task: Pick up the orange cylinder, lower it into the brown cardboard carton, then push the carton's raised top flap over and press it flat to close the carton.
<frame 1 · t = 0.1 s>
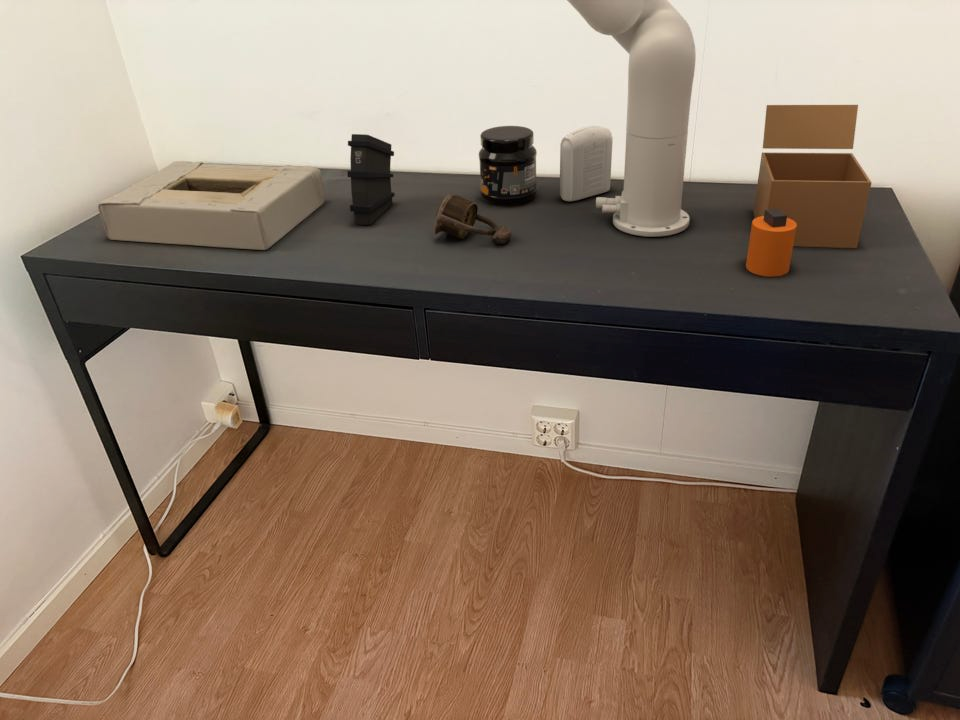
white rounded upright block: (585, 195, 143), on the table
flap: (809, 126, 124), point 14 cm above the table, hinge at 110.0°
supplement container: (509, 198, 144), on the table
brown knobbed piece: (471, 240, 128), on the table
box: (221, 221, 142), on the table
black banded case: (377, 213, 141), on the table
orange cylinder: (767, 267, 114), on the table
carton: (802, 229, 125), on the table
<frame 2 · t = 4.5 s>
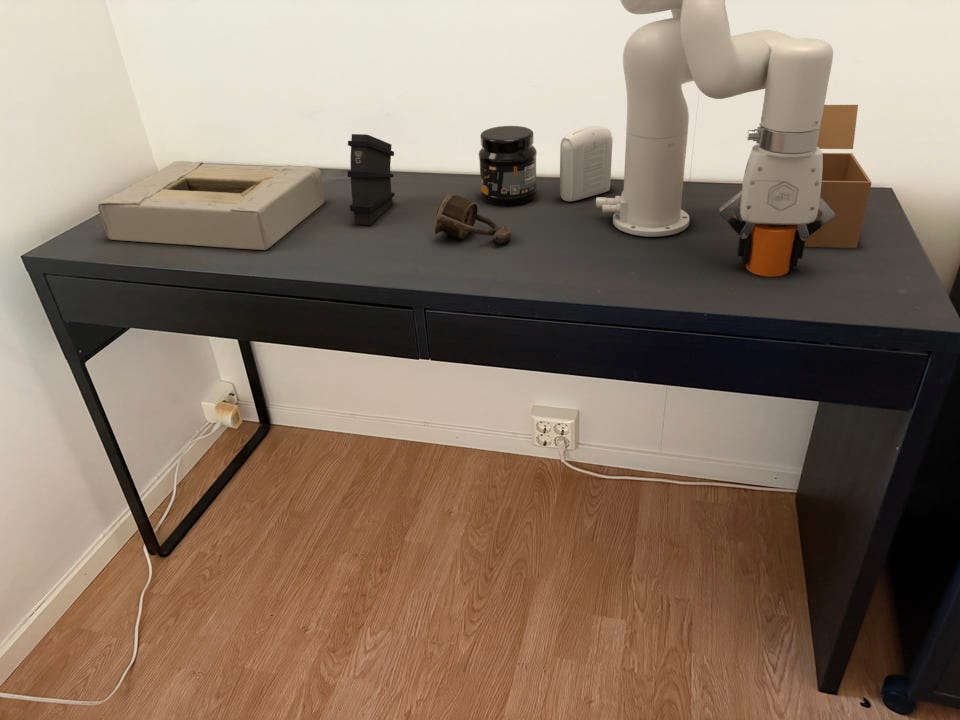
hand: (768, 260, 113), 1 cm above the table, tool pointing down, fingers closed on orange cylinder, 6 cm apart
orange cylinder: (767, 267, 114), on the table, touching gripper
everything else where it was.
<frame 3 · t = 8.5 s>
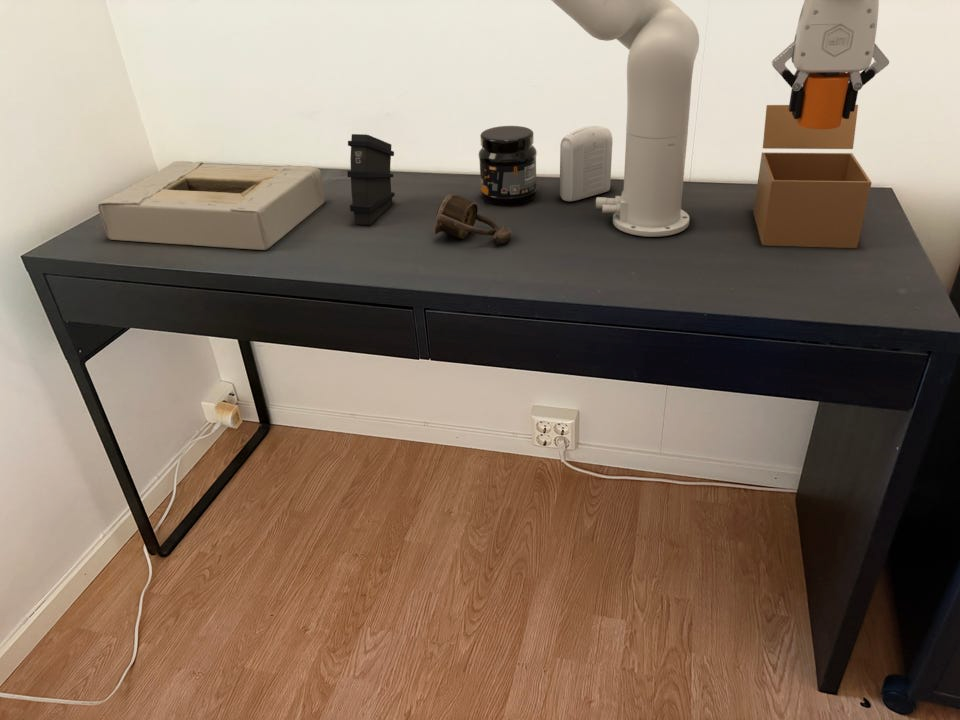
hand: (820, 115, 113), 19 cm above the table, tool pointing down, fingers closed on orange cylinder, 6 cm apart
orange cylinder: (818, 123, 114), point 17 cm above the table, touching gripper
everything else where it was.
when the fingers open (6 cm above the table, at t = 13.7 s): orange cylinder stays where it is, resting on carton.
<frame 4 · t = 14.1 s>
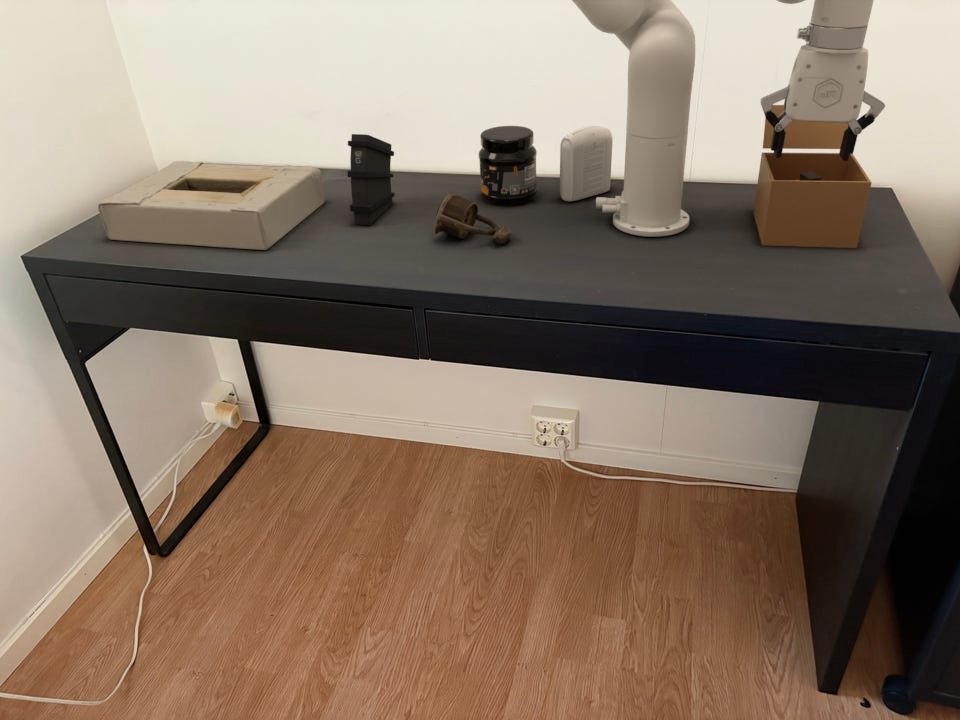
hand: (809, 156, 118), 12 cm above the table, tool pointing down, fingers open, 9 cm apart
orange cylinder: (801, 227, 124), resting on carton
everything else where it was.
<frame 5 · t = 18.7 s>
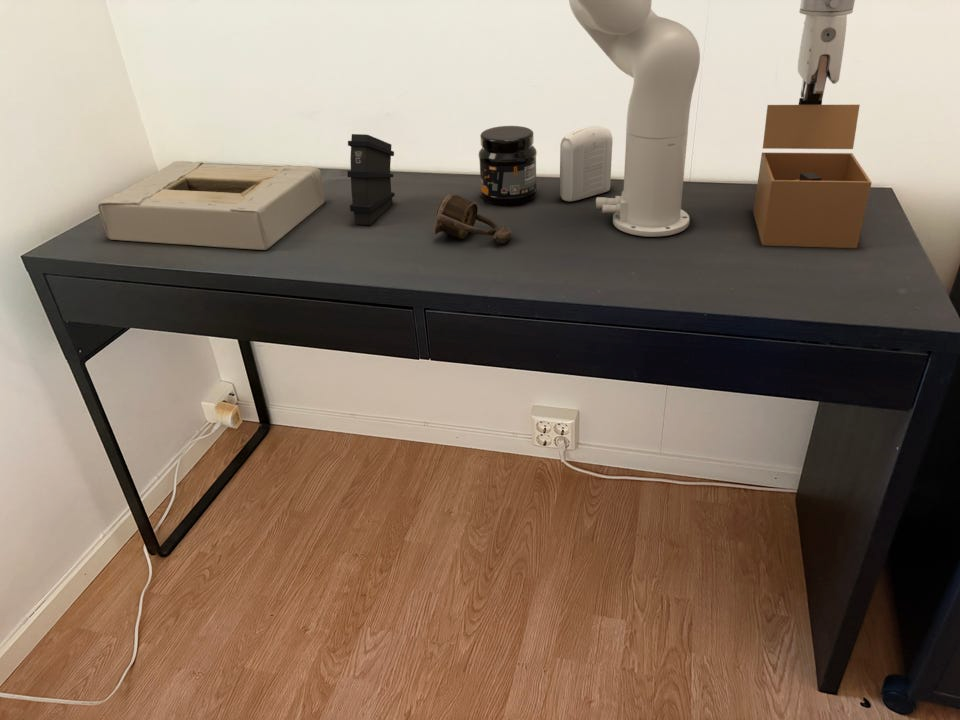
hand: (806, 123, 126), 14 cm above the table, tool pointing down, fingers closed
flap: (810, 126, 123), point 14 cm above the table, hinge at 102.0°, touching gripper
everything else where it was.
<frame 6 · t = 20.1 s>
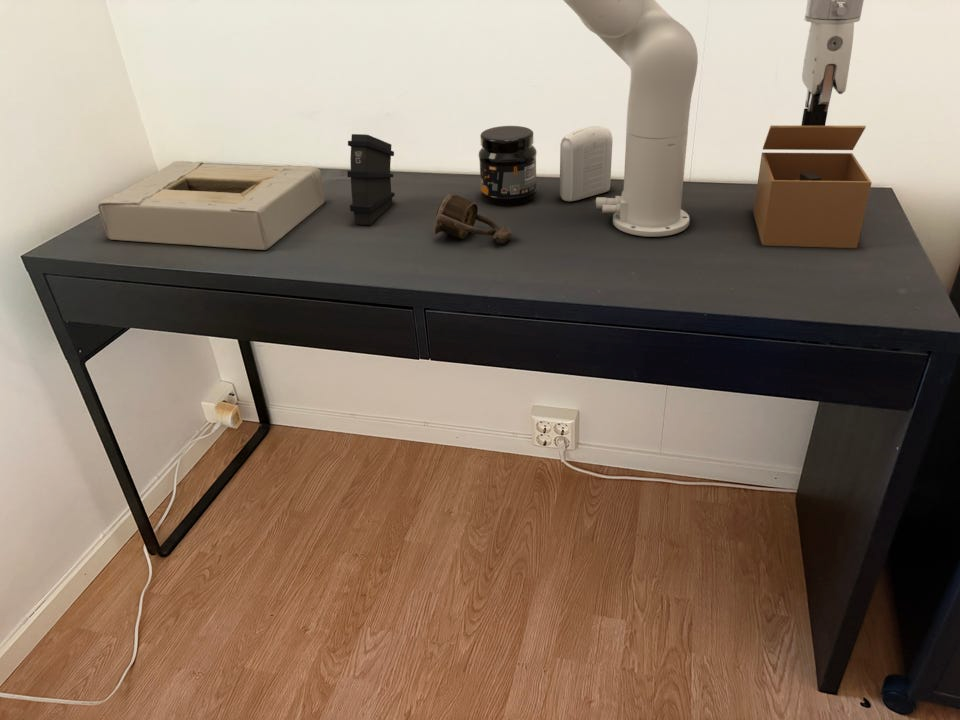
hand: (811, 135, 122), 14 cm above the table, tool pointing down, fingers closed
flap: (812, 138, 121), point 13 cm above the table, hinge at 46.4°
everything else where it was.
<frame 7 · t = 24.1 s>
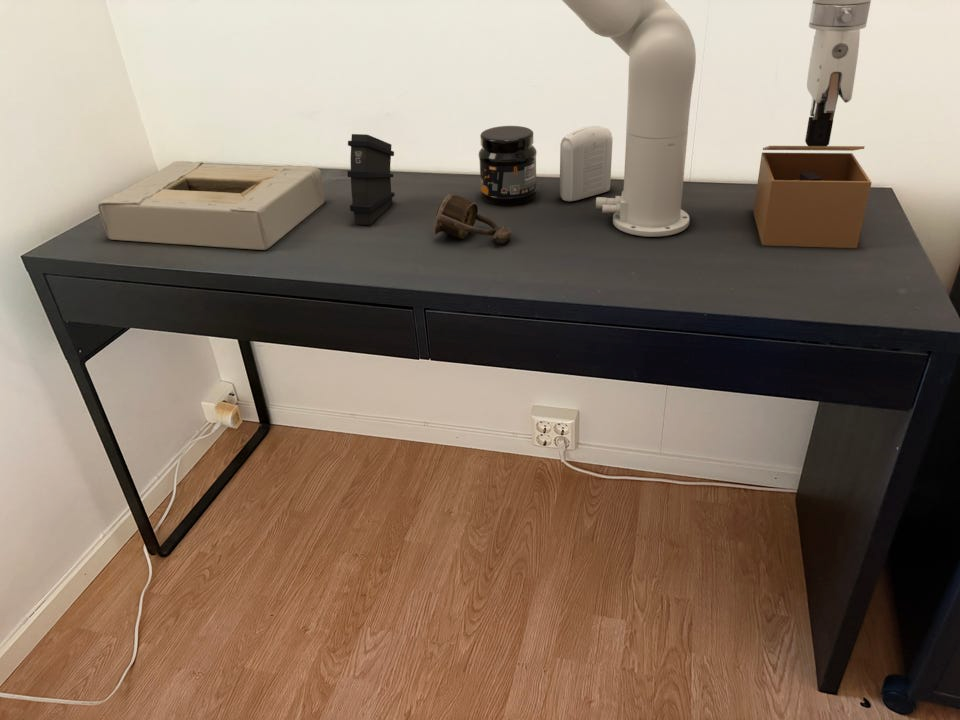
hand: (816, 144, 119), 13 cm above the table, tool pointing down, fingers closed
flap: (811, 148, 121), point 12 cm above the table, hinge at 19.5°, touching gripper
everything else where it was.
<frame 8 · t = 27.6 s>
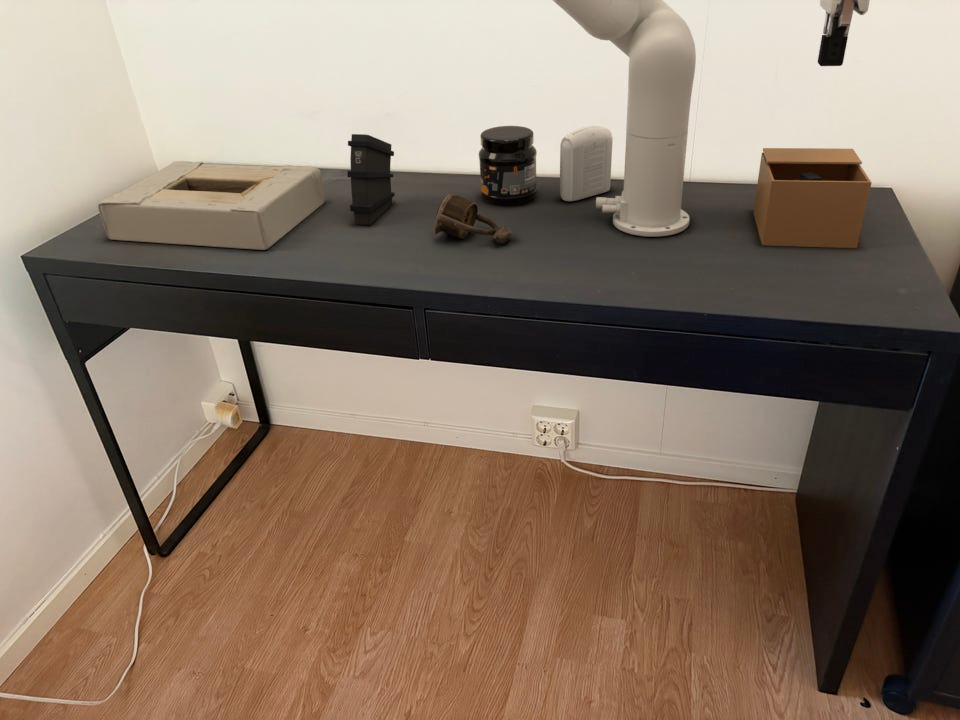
hand: (829, 64, 113), 25 cm above the table, tool pointing down, fingers closed
flap: (810, 155, 122), point 11 cm above the table, hinge at -0.1°
everything else where it was.
at the end: orange cylinder inside the target area in the carton (0.1 cm from its centre), point 0.4 cm above the carton's base; flap at +0° (first picture: +110°) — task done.
